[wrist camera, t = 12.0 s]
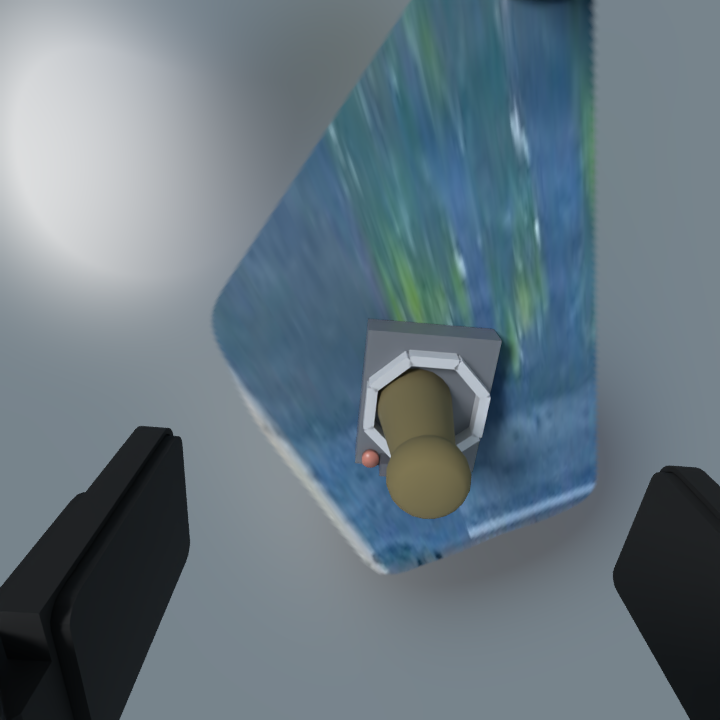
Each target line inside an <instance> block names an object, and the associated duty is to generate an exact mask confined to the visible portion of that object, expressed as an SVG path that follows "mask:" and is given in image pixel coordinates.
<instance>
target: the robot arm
mask: <svg viewBox="0 0 720 720" xmlns="http://www.w3.org/2000/svg"><path fill="white" fill-rule="evenodd" d="M189 546H190V536H189V524H188V512H187V498H186V485H185V473H184V460H183V447H182V440H181V438H180V437H179V436H173V432H172V430H171V429H170V428H160V427H147V426H139V427H137V428H136V429H135V430H134V432H133V433H132V434H131V436H130V437H129V438H128V439H127V441H126V442H125V443H124V444H123V446H122V447H121V448H120V449H119V451H118V452H117V453H116V454H115V456H114V457H113V458H112V460H111V461H110V462H109V464H108V465H107V466H106V467H105V468H104V470H103V471H102V472H101V473H100V475H99V476H98V477H97V478H96V480H95V481H94V482H93V483H92V485H91V486H90V487H89V488H88V490H87V491H86V492H83V493H81V494H78V495H77V496H76V497H75V498H74V499H72V500H71V501H70V503H69V504H68V505H67V506H66V508H65V509H64V510H63V511H62V512H61V514H60V515H59V516H58V517H57V519H56V520H55V521H54V523H52V525H51V526H50V527H49V528H48V530H47V531H46V532H45V533H44V535H43V536H42V537H41V538H40V539H39V541H38V542H37V543H36V544H35V546H34V547H33V548H32V549H31V550H30V552H29V553H28V554H27V555H26V557H25V558H24V559H23V560H22V562H21V563H20V564H19V565H18V567H17V568H16V569H15V570H14V571H13V573H12V574H11V575H10V576H9V578H8V579H7V580H6V581H5V582H4V584H3V585H2V586H1V587H0V720H119V719H120V717H121V714H122V712H123V710H124V707H125V705H126V703H127V700H128V698H129V695H130V693H131V691H132V688H133V686H134V683H135V681H136V679H137V676H138V674H139V672H140V669H141V667H142V664H143V662H144V660H145V657H146V655H147V652H148V650H149V648H150V645H151V643H152V641H153V639H154V636H155V634H156V631H157V629H158V627H159V624H160V622H161V620H162V617H163V615H164V612H165V610H166V608H167V605H168V603H169V601H170V598H171V596H172V593H173V591H174V589H175V586H176V584H177V582H178V579H179V577H180V574H181V572H182V569H183V567H184V565H185V563H186V560H187V557H188V553H189ZM613 580H614V585H615V588H616V590H617V592H618V594H619V595H620V597H621V599H622V601H623V602H624V604H625V606H626V608H627V609H628V611H629V613H630V615H631V616H632V618H633V620H634V622H635V623H636V625H637V627H638V629H639V631H640V632H641V634H642V636H643V638H644V639H645V641H646V643H647V645H648V646H649V648H650V650H651V652H652V653H653V655H654V657H655V659H656V660H657V662H658V664H659V666H660V667H661V669H662V671H663V673H664V674H665V676H666V678H667V680H668V682H669V683H670V685H671V687H672V688H673V690H674V692H675V694H676V695H677V697H678V699H679V700H680V702H681V704H682V706H683V708H684V709H685V711H686V713H687V715H688V717H689V718H690V720H720V486H719V485H718V484H717V483H716V482H715V481H714V480H712V478H710V477H709V476H708V475H707V474H706V473H705V472H704V471H703V470H701V469H699V468H694V467H682V466H665V467H664V468H662V469H661V471H660V472H658V473H655V474H654V475H653V477H652V478H651V481H650V483H649V485H648V488H647V490H646V493H645V495H644V498H643V500H642V502H641V505H640V507H639V510H638V512H637V514H636V517H635V519H634V522H633V524H632V527H631V529H630V531H629V534H628V536H627V539H626V541H625V544H624V546H623V548H622V551H621V553H620V556H619V558H618V560H617V563H616V565H615V568H614V571H613Z"/></svg>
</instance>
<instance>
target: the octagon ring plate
mask: <svg viewBox="0 0 720 720" xmlns="http://www.w3.org/2000/svg"><path fill="white" fill-rule="evenodd" d="M501 343H502V340H501V339H500V338H499V336H498V335H497V333H496V332H495V330H494V329H486V328H474V327H462V326H450V325H438V324H426V323H414V322H401V321H389V320H377V319H368V325H367V336H366V346H365V356H364V366H363V376H362V386H361V397H360V407H359V417H358V427H357V437H356V452H355V463H362V464H363V465H364V466H366V467H370V468H371V467H375V466H376V465H379V476H386V469H387V465H388V462H389V460H390V458H391V454H390V451H389V448H388V445H387V442H386V439H385V436H384V432H383V429H382V426H381V423H380V420H379V417H378V413H377V410H376V402H377V394H378V391H379V390H380V389H381V388H383V387H384V386H385V385H387V384H388V383H389V382H391V381H392V380H394V379H395V378H396V377H398V376H399V375H400V374H402V373H403V372H404V371H406V370H407V369H424V370H427V371H430V372H433V373H435V374H436V375H438V376H439V377H441V378H442V379H443V380H444V382H445V383H446V384H447V386H448V387H449V390H450V393H451V397H452V407H453V419H454V432H455V444H456V446H457V447H458V448H459V449H460V450H461V452H462V453H463V454H464V455H465V457H466V458H467V461H468V464H469V468H470V471H471V472H473V468H474V464H475V459H476V455H477V450H478V446H479V441H480V438H482V434H483V430H484V426H485V421H486V417H487V412H488V408H489V403H490V399H491V397H490V392H491V388H492V383H493V379H494V374H495V370H496V365H497V361H498V356H499V352H500V347H501Z"/></svg>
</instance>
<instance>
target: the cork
mask: <svg viewBox="0 0 720 720" xmlns="http://www.w3.org/2000/svg"><path fill="white" fill-rule="evenodd" d="M376 410H377V413H378V417H379V420H380V423H381V426H382V429H383V432H384V436H385V439H386V442H387V445H388V448H389V451H390V454H391V458H390V460H389V462H388V465H387V469H386V484H387V487H388V490H389V493H390V495H391V497H392V499H393V501H394V502H395V503H396V504H397V505H398V506H399V508H401V509H402V510H403V511H405V512H407V513H408V514H410V515H412V516H415V517H418V518H422V519H435V518H439V517H443V516H446V515H448V514H450V513H452V512H454V511H455V510H456V509H457V508H458V507H459V506H460V505H462V503H463V502H464V501H465V499H466V497H467V495H468V493H469V491H470V485H471V471H470V468H469V464H468V461H467V458H466V457H465V455H464V454H463V453H462V452H461V450H460V449H459V448H458V447H457V446H456V444H455V432H454V419H453V407H452V397H451V393H450V390H449V387H448V386H447V384H446V383H445V382H444V380H443V379H442V378H441V377H439V376H438V375H436V374H435V373H433V372H430V371H427V370H424V369H407V370H406V371H404V372H403V373H402V374H400V375H399V376H398V377H396V378H395V379H394V380H392V381H391V382H389V383H388V384H387V385H385V386H384V387H383V388H381V389H380V390H379V391H378V394H377V402H376Z"/></svg>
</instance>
